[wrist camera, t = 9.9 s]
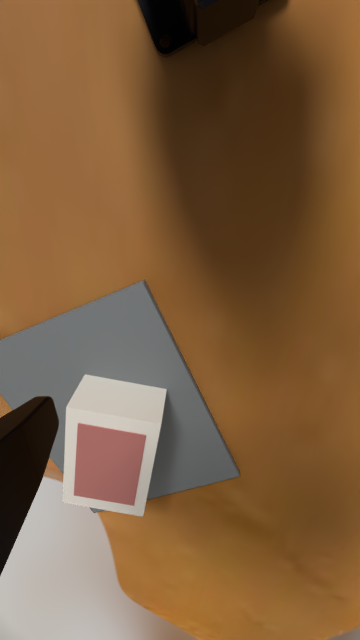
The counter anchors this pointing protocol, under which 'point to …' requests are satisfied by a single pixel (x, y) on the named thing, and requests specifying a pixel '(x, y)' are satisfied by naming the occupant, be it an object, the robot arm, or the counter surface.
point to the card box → (111, 444)
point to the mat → (124, 365)
